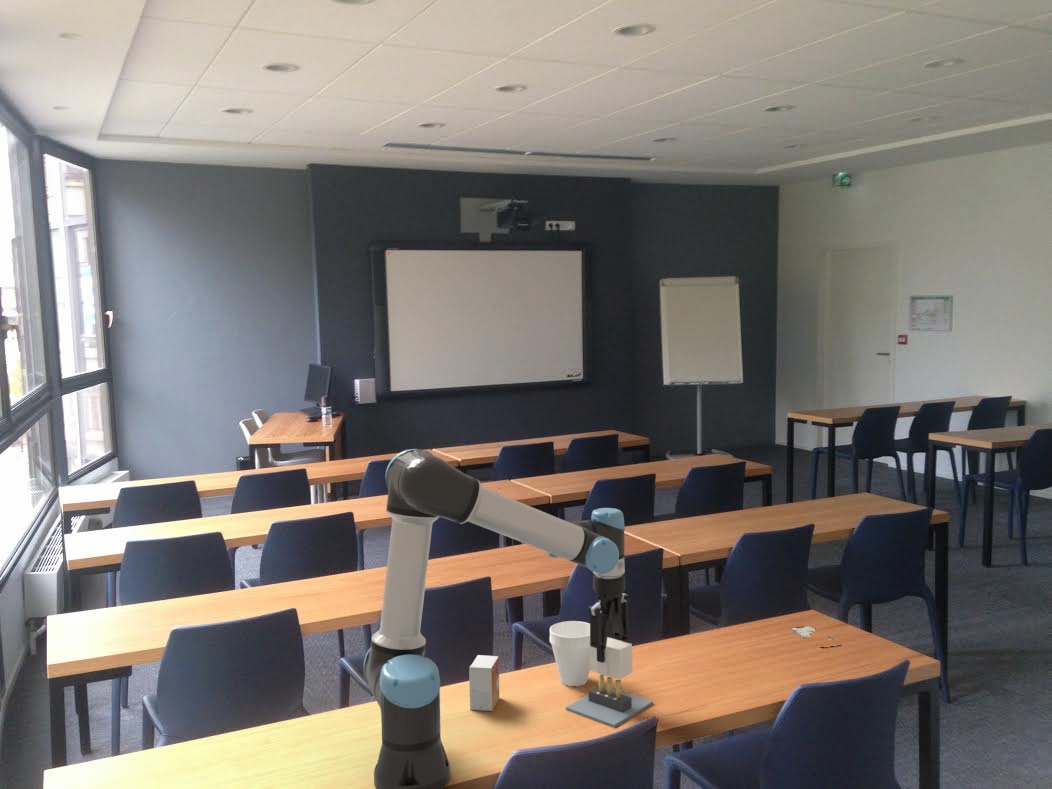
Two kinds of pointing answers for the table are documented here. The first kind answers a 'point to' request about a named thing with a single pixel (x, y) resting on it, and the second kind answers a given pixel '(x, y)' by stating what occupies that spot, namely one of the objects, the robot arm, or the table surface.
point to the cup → (571, 651)
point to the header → (609, 704)
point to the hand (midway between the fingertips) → (610, 670)
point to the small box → (484, 682)
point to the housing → (614, 658)
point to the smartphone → (804, 631)
